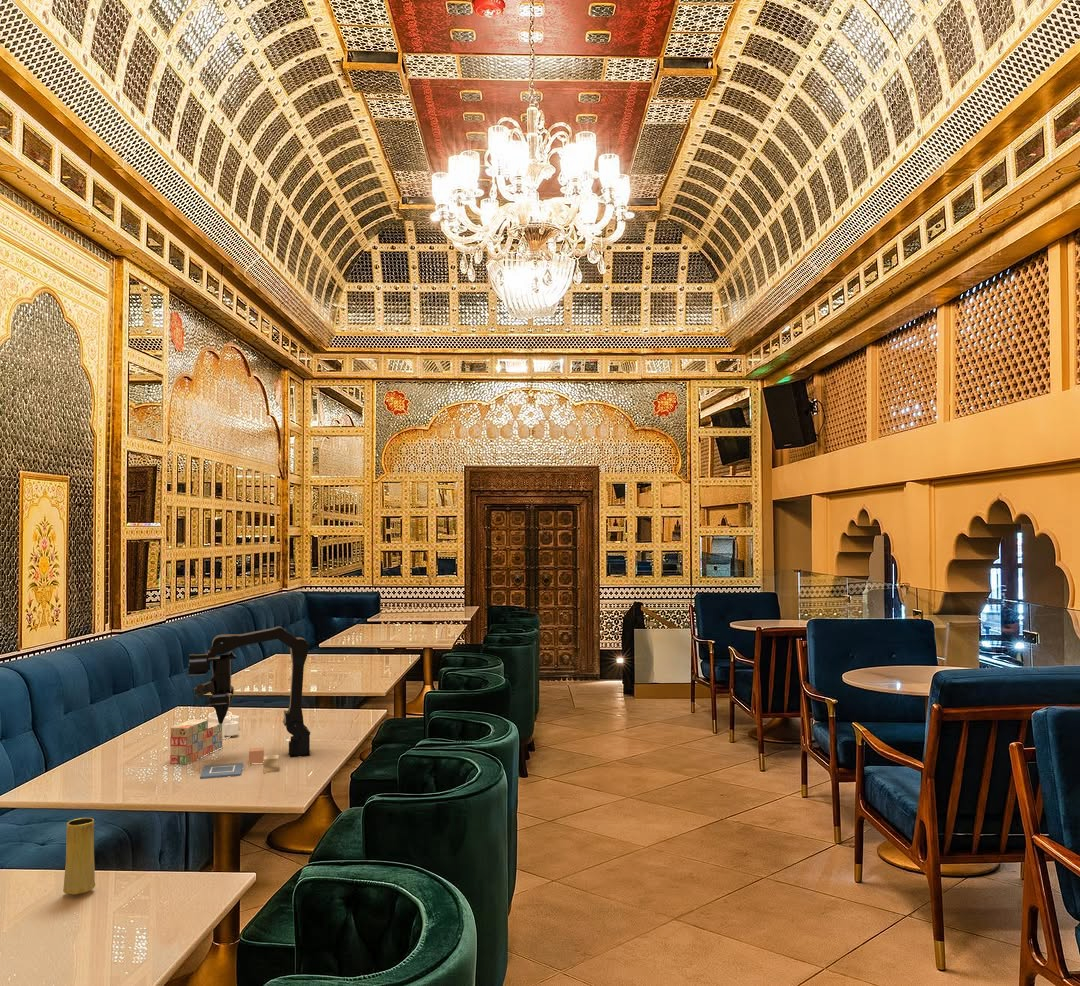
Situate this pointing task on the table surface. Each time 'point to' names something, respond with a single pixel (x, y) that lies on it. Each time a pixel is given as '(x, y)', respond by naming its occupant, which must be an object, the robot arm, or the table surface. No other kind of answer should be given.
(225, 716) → the robot arm
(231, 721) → the white piece
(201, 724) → the stack of blocks
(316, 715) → the table surface
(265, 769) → the maple block
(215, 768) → the board
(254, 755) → the terracotta block
